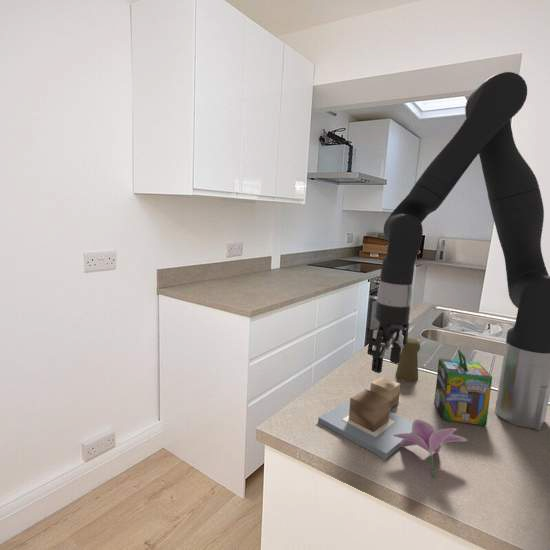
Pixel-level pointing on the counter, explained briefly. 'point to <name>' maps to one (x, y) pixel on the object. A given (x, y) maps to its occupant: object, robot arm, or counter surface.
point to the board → (373, 441)
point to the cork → (409, 361)
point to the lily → (428, 437)
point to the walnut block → (369, 410)
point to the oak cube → (386, 389)
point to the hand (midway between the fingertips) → (385, 367)
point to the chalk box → (462, 391)
